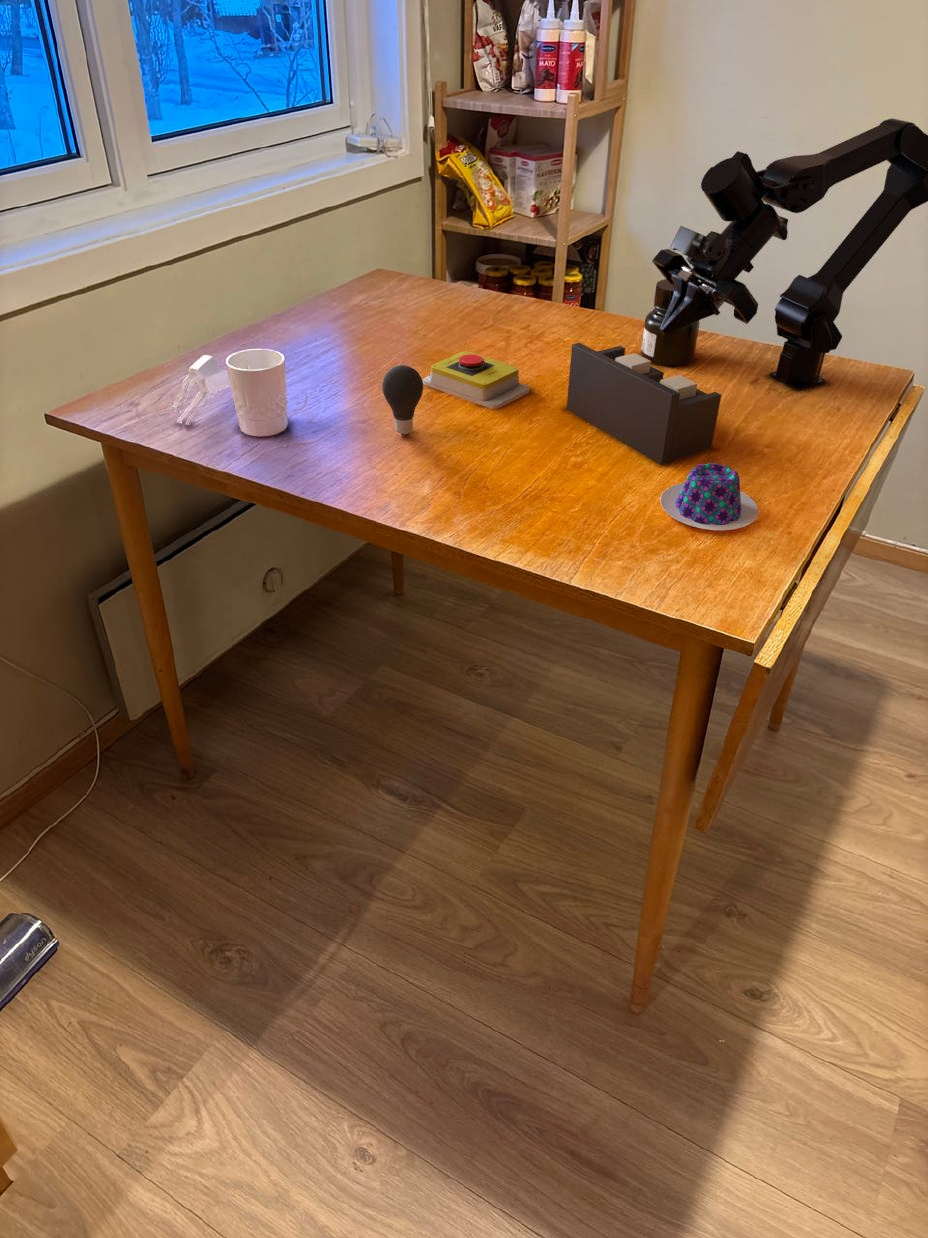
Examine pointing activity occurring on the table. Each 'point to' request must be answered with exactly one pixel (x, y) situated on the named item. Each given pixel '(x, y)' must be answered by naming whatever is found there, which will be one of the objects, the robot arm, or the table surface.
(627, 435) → the black hollow block
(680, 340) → the ink bottle
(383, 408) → the table surface
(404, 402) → the light bulb
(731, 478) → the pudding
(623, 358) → the key
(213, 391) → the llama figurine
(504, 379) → the emergency button
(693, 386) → the key
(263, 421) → the white cup
